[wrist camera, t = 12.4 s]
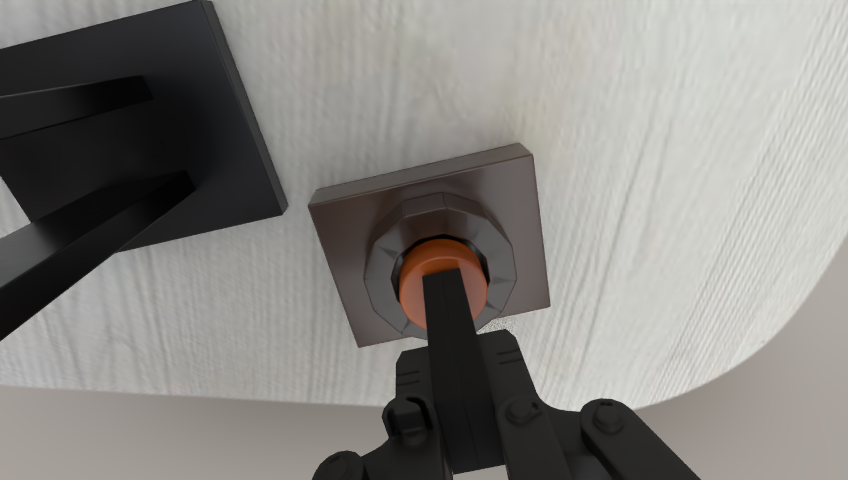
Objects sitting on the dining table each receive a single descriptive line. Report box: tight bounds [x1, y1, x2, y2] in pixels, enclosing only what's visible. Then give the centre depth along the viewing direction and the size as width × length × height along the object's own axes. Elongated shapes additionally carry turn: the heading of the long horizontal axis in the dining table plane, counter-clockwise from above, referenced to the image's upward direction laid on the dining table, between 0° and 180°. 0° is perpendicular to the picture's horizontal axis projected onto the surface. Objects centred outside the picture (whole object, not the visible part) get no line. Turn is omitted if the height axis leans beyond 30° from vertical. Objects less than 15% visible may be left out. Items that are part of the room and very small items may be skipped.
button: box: [399, 239, 488, 330], centre depth 19 cm, size 4×4×2 cm
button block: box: [308, 143, 551, 348], centre depth 21 cm, size 10×8×4 cm
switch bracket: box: [0, 0, 288, 341], centre depth 14 cm, size 11×9×14 cm
